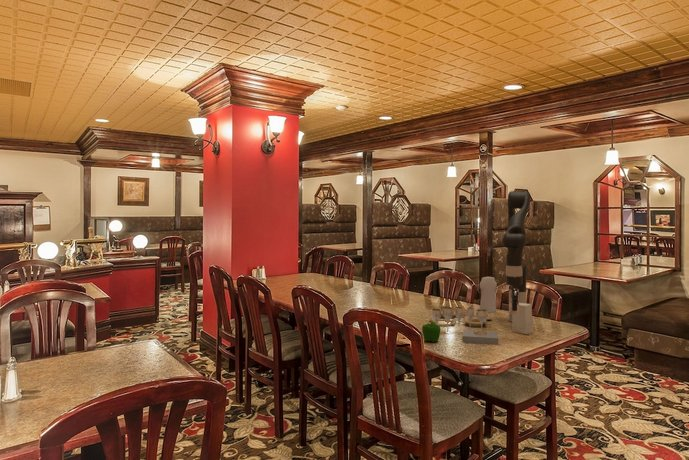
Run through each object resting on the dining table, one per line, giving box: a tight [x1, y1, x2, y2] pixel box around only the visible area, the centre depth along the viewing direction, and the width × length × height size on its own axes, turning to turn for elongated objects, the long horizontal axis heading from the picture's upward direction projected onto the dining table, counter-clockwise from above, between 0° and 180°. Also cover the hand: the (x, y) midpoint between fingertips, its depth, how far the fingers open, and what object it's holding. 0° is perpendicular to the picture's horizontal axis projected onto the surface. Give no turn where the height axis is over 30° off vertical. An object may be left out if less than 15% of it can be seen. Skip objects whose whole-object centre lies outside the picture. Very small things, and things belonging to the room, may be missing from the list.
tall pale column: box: [479, 276, 498, 314], centre depth 279 cm, size 11×4×22 cm, turn 91°
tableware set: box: [428, 307, 494, 328], centre depth 258 cm, size 35×29×4 cm
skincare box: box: [511, 302, 534, 335], centre depth 232 cm, size 8×6×15 cm
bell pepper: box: [421, 321, 441, 343], centre depth 219 cm, size 8×8×10 cm
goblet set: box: [431, 306, 489, 335], centre depth 233 cm, size 28×6×13 cm, turn 82°
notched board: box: [462, 329, 499, 345], centre depth 220 cm, size 12×16×3 cm
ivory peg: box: [508, 291, 519, 314], centre depth 220 cm, size 4×4×10 cm
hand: (514, 309), depth 220 cm, fingers closed on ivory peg, 4 cm apart
